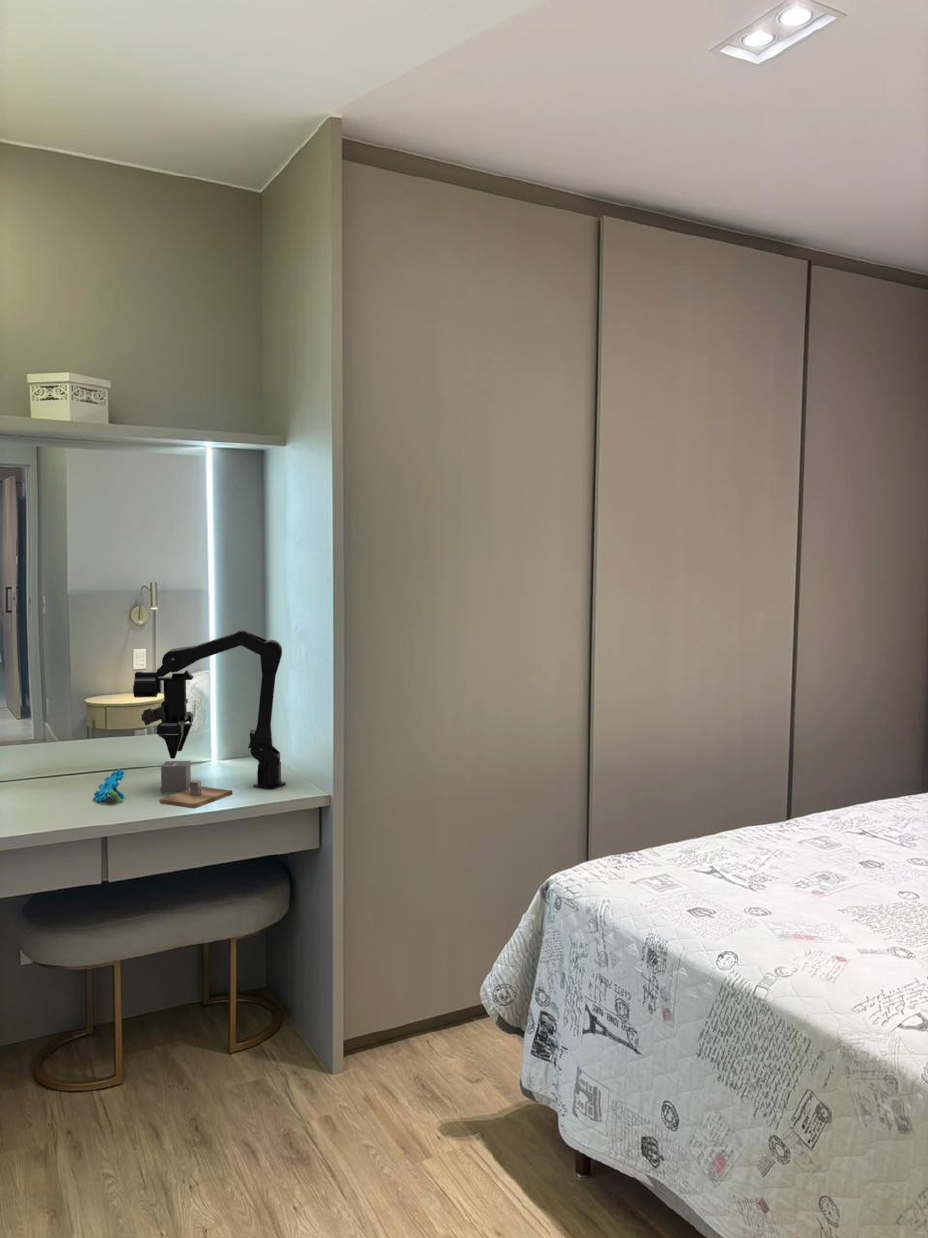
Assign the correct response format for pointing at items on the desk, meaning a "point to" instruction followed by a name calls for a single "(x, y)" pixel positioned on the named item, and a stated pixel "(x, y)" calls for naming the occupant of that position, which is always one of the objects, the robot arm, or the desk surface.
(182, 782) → the grey cube with hole
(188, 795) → the board
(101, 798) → the blue lumpy piece
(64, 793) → the desk surface
